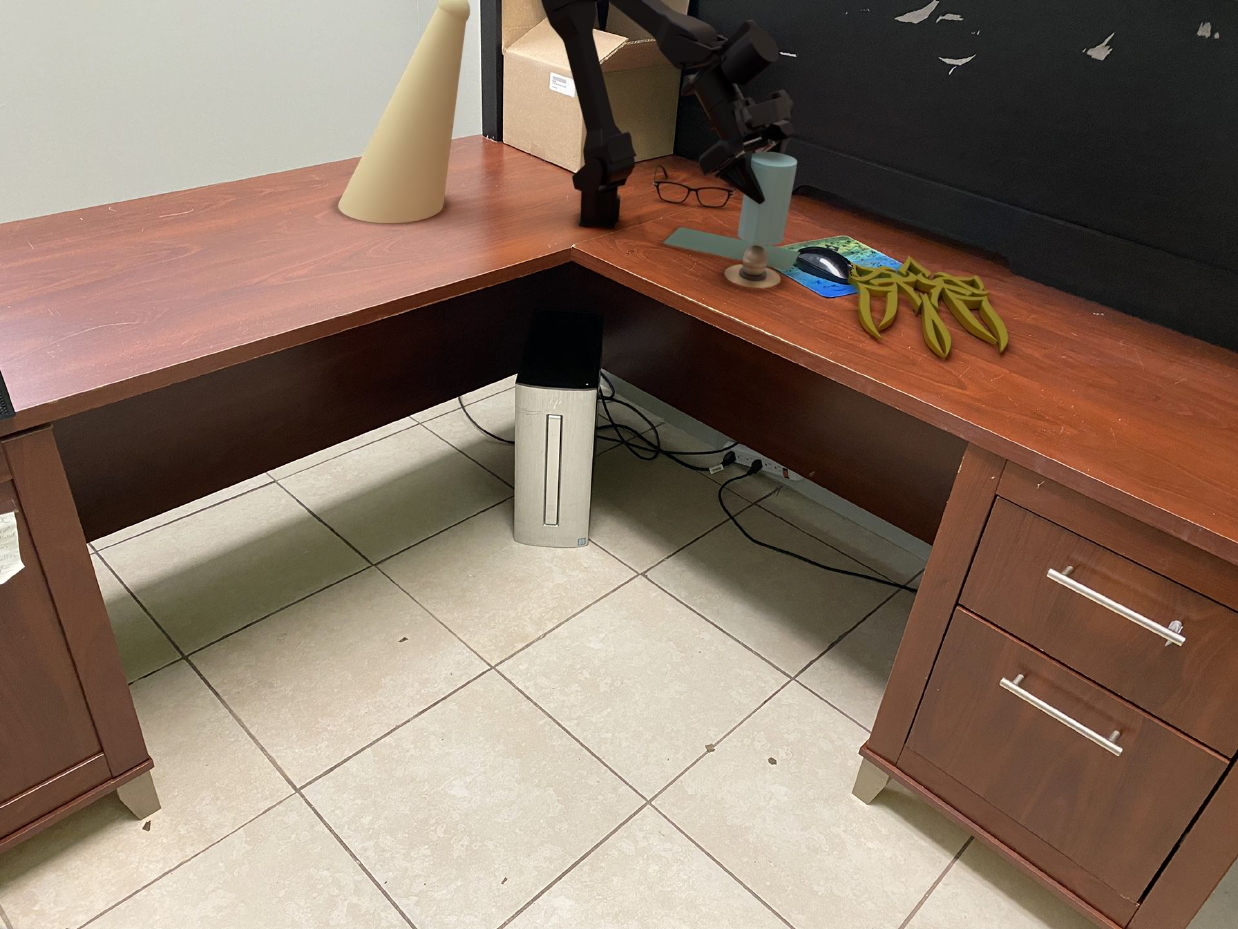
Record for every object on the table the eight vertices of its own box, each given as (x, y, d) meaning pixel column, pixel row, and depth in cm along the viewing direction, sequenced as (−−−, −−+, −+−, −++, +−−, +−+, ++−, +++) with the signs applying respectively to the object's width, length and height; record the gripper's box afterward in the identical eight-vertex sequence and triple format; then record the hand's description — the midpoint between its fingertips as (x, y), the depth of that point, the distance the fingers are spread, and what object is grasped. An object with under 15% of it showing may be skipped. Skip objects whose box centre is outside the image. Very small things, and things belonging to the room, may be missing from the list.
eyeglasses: (648, 201, 165) (650, 180, 163) (658, 176, 178) (660, 156, 176) (734, 211, 164) (737, 190, 161) (738, 185, 176) (741, 165, 174)
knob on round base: (725, 288, 135) (730, 254, 131) (722, 265, 142) (727, 232, 139) (783, 292, 135) (789, 259, 132) (776, 269, 142) (782, 237, 139)
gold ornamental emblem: (974, 261, 146) (1028, 361, 118) (971, 270, 147) (1024, 371, 119) (842, 247, 147) (865, 342, 119) (840, 256, 148) (862, 352, 120)
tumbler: (736, 242, 132) (749, 162, 125) (738, 226, 138) (750, 149, 131) (782, 247, 132) (797, 168, 125) (782, 231, 137) (797, 154, 130)
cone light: (320, 215, 148) (288, -16, 127) (361, 183, 163) (339, -30, 142) (460, 233, 146) (450, 0, 126) (489, 198, 161) (484, -15, 140)
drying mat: (662, 245, 147) (662, 243, 147) (679, 229, 154) (679, 226, 154) (788, 273, 141) (788, 270, 141) (800, 254, 148) (800, 252, 148)
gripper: (727, 79, 117) (783, 182, 118) (795, 63, 129) (845, 156, 130) (674, 126, 125) (727, 222, 127) (743, 107, 138) (790, 194, 139)
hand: (774, 197), depth 130 cm, fingers closed on tumbler, 7 cm apart
